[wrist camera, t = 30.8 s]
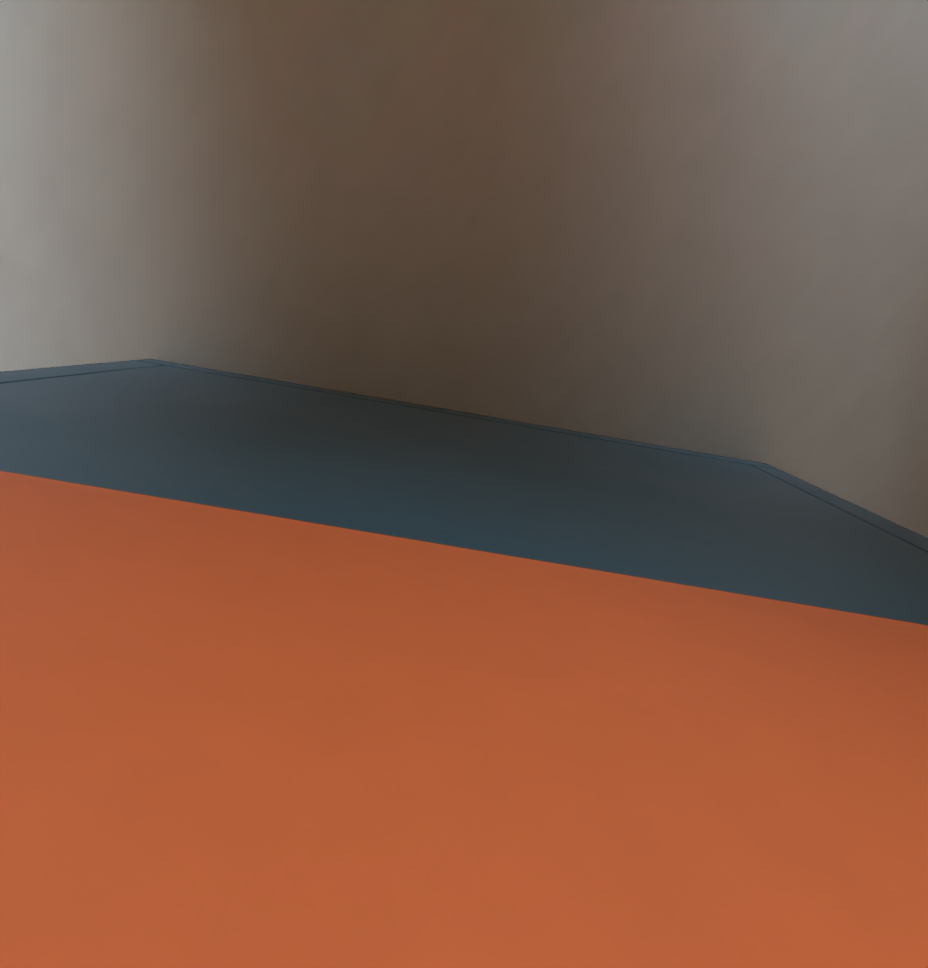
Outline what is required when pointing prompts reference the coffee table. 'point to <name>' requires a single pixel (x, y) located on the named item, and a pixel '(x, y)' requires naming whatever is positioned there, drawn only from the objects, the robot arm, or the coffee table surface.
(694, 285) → the coffee table surface
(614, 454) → the container
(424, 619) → the lid
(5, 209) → the coffee table surface
